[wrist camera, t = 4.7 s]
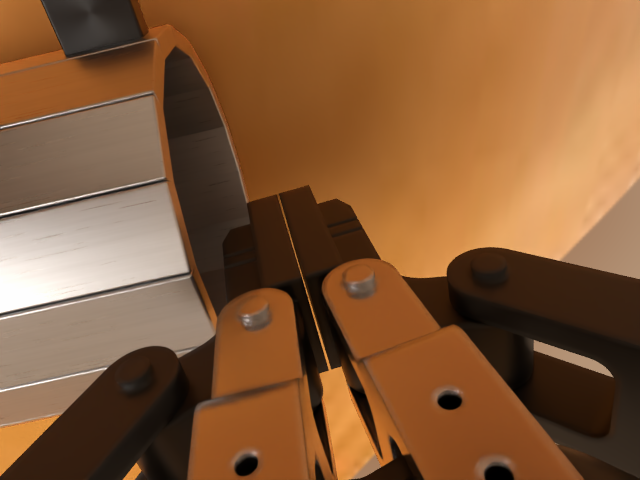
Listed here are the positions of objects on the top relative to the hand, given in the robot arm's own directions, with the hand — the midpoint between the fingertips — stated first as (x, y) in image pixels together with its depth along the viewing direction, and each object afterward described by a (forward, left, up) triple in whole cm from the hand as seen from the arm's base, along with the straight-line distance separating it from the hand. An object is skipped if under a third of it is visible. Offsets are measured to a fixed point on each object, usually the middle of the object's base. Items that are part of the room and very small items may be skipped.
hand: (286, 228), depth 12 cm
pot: (0, -5, -7) cm, 9 cm away
